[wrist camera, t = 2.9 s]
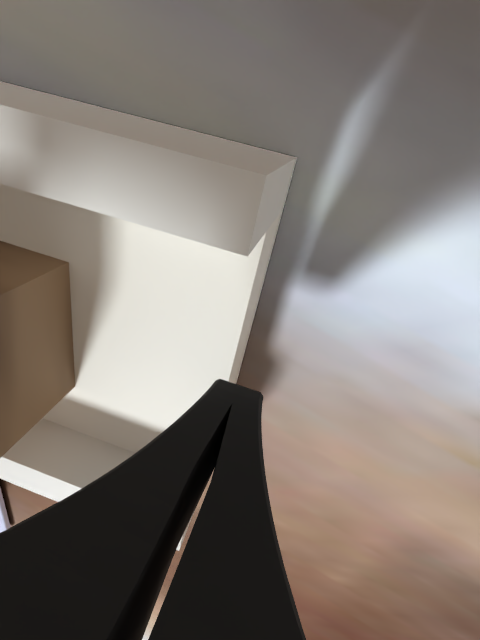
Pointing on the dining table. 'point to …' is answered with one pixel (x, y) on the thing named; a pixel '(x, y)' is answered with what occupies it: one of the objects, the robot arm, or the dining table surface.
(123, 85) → the dining table surface
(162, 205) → the tray
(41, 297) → the walnut block
